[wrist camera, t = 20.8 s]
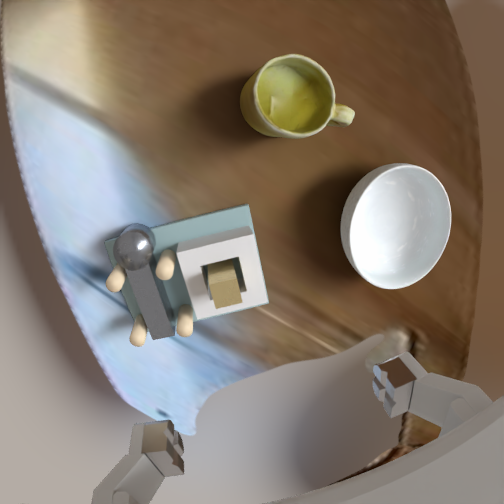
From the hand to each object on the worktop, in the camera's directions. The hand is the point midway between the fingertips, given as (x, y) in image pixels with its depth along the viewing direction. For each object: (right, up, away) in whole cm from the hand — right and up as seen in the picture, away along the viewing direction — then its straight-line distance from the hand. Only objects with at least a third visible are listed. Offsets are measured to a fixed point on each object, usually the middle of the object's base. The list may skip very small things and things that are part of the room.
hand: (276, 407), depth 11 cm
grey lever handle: (-14, +3, +29) cm, 32 cm away
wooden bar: (-5, +4, +30) cm, 31 cm away
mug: (+4, +24, +26) cm, 35 cm away
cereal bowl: (+18, +11, +33) cm, 39 cm away
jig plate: (-9, +3, +31) cm, 32 cm away
